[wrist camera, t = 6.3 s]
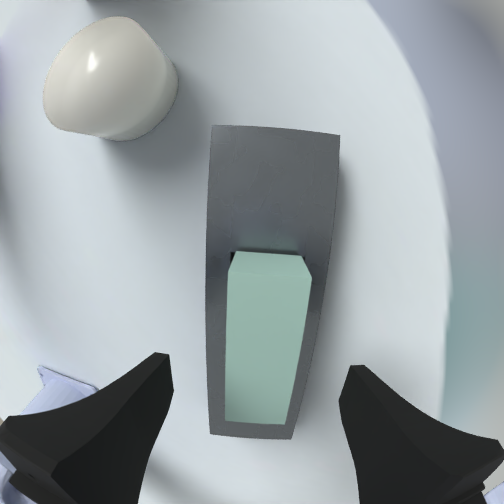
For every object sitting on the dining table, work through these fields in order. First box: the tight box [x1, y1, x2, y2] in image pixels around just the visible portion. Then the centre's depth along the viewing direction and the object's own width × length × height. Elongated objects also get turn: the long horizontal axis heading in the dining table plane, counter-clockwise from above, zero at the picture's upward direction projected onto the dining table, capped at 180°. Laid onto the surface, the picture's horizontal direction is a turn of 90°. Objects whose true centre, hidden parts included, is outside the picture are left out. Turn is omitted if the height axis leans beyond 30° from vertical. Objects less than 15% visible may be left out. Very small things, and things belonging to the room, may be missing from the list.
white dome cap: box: [43, 16, 178, 141], centre depth 11 cm, size 6×6×5 cm
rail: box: [205, 125, 340, 439], centre depth 15 cm, size 20×6×2 cm, turn 176°
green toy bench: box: [225, 251, 312, 424], centre depth 14 cm, size 8×3×6 cm, turn 176°
